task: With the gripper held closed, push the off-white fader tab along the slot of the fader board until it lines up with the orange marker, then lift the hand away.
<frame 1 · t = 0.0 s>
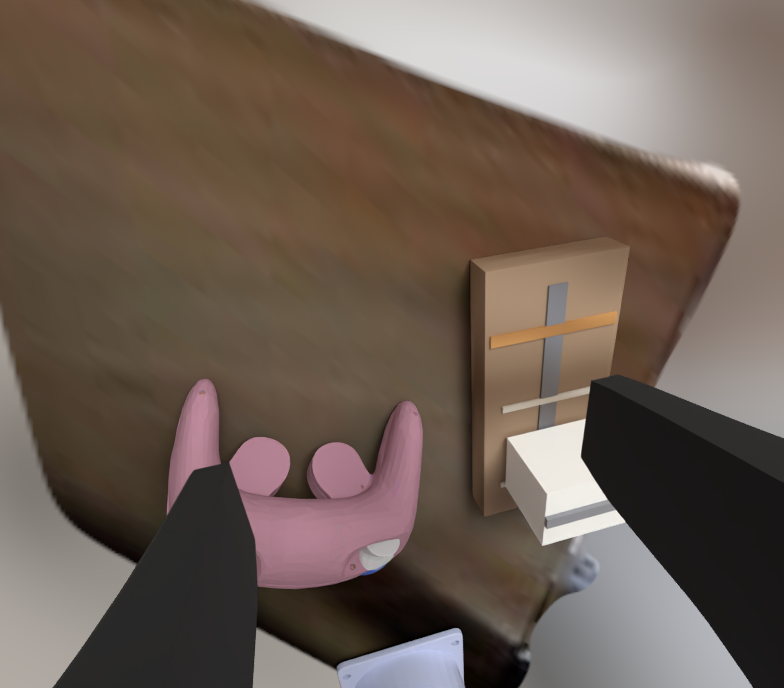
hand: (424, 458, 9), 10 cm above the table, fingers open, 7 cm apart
fader tab: (567, 480, 21), point 4 cm above the table, slide at 0.0 cm
fader board: (531, 381, 23), on the table
video game controller: (299, 435, 21), on the table
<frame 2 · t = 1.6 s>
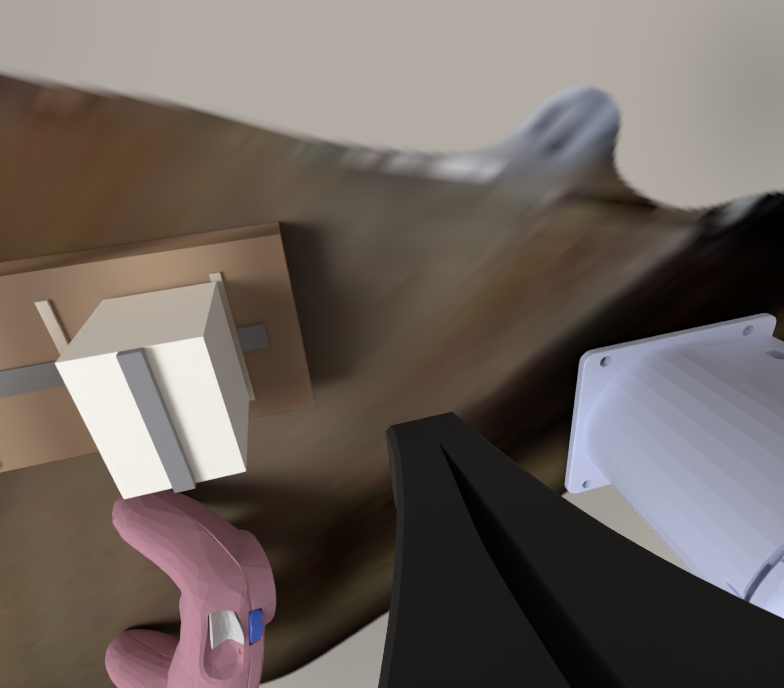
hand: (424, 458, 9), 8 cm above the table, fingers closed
fader tab: (172, 385, 13), point 4 cm above the table, slide at 0.0 cm
fader board: (91, 345, 15), on the table
video game controller: (193, 560, 21), on the table
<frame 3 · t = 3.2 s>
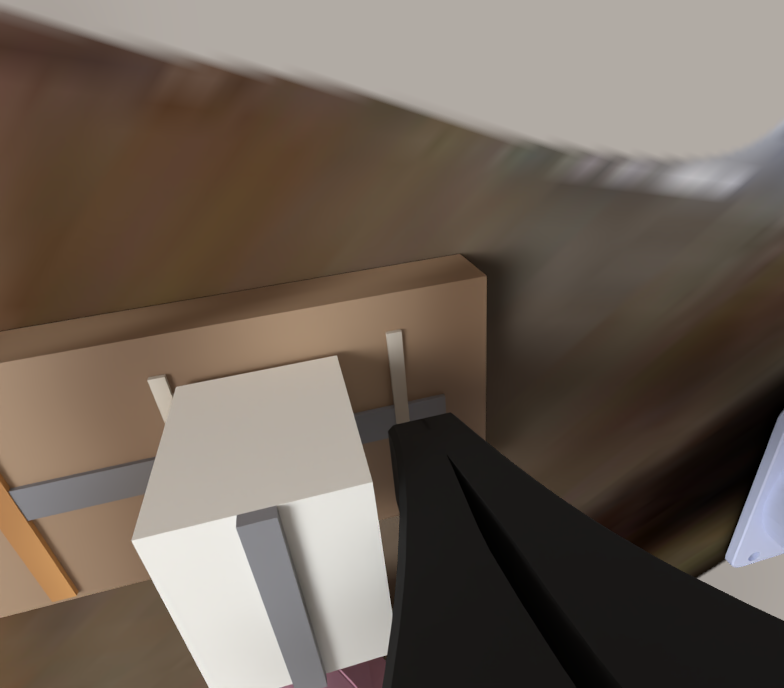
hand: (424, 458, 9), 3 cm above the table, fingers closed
fader tab: (283, 519, 8), point 4 cm above the table, slide at 1.2 cm, touching gripper
fader board: (200, 421, 11), on the table
video game controller: (281, 663, 17), on the table
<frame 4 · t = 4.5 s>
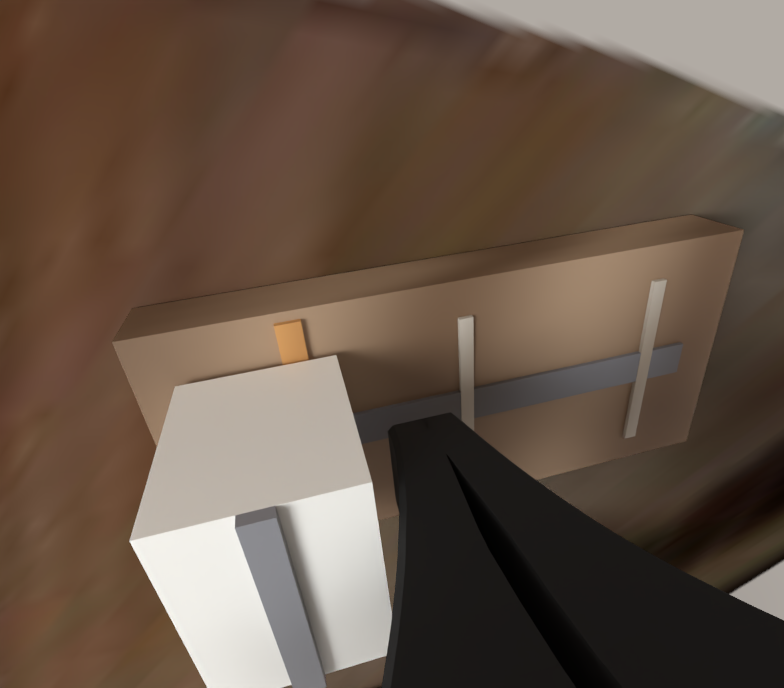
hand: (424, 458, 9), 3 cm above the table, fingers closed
fader tab: (282, 519, 8), point 4 cm above the table, slide at 7.2 cm, touching gripper
fader board: (444, 370, 12), on the table
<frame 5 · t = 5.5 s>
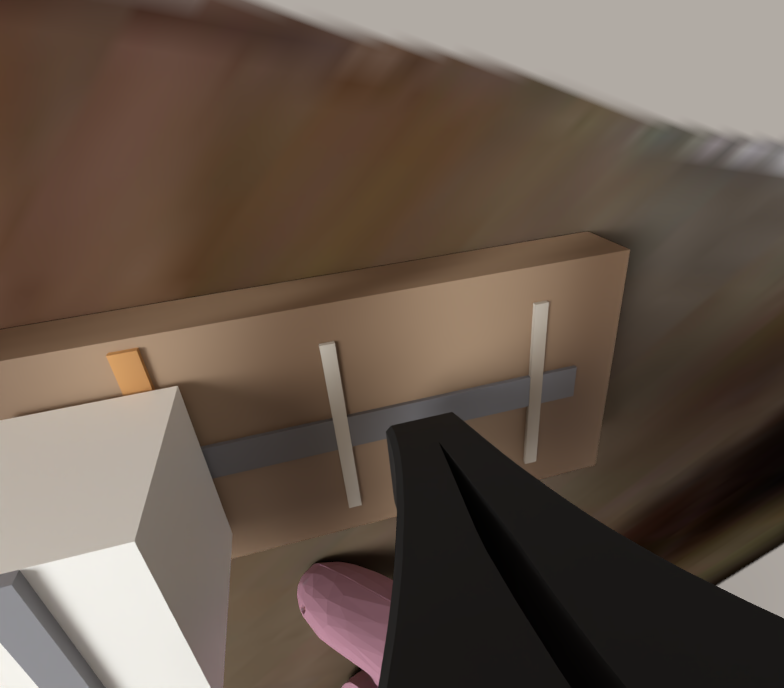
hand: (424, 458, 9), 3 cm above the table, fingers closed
fader tab: (102, 565, 8), point 4 cm above the table, slide at 7.3 cm
fader board: (332, 393, 12), on the table
video game controller: (356, 639, 17), on the table
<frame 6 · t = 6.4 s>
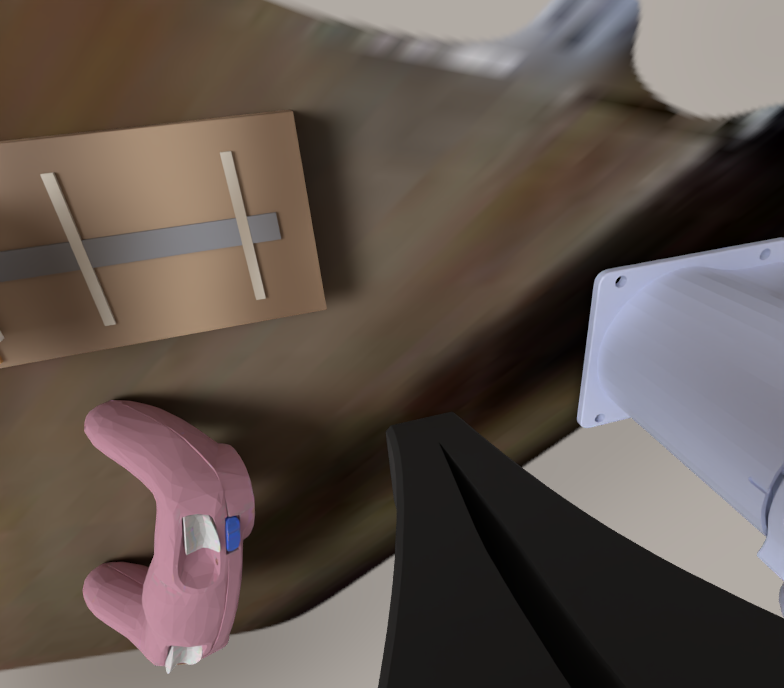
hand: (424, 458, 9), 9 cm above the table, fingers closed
fader board: (97, 240, 15), on the table
video game controller: (174, 488, 20), on the table
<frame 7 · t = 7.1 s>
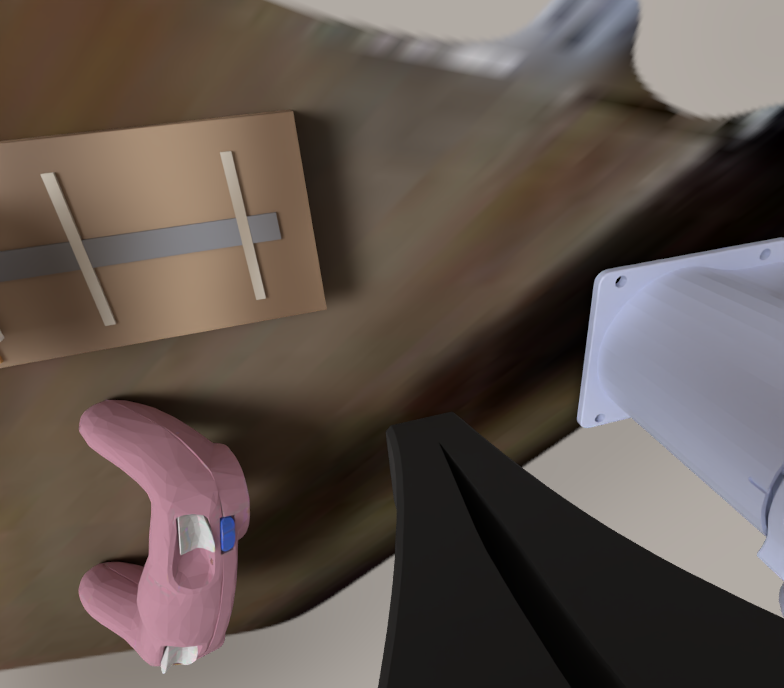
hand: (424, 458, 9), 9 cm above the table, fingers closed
fader board: (98, 239, 15), on the table
video game controller: (170, 488, 20), on the table
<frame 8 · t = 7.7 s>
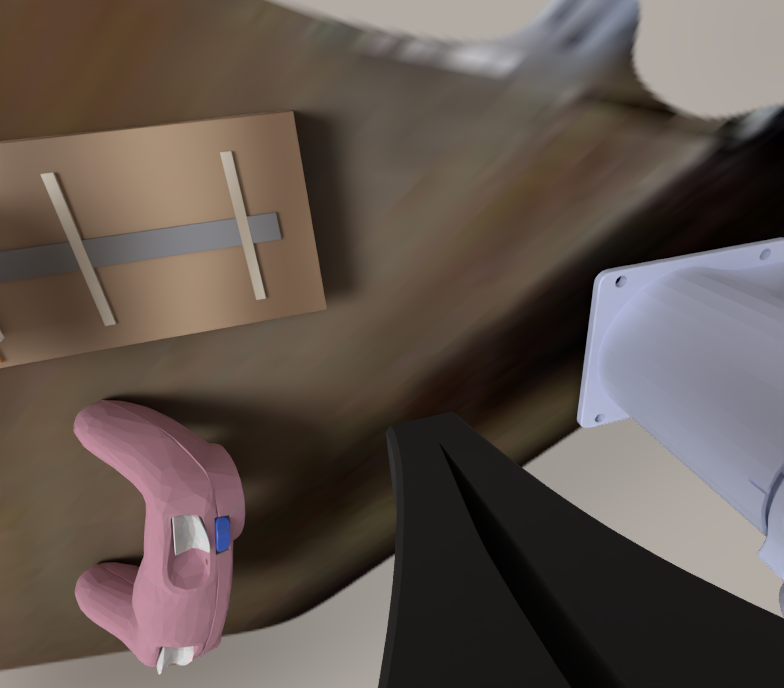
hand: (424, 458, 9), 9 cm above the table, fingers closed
fader board: (98, 239, 15), on the table
video game controller: (166, 488, 20), on the table
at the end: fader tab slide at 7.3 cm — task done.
